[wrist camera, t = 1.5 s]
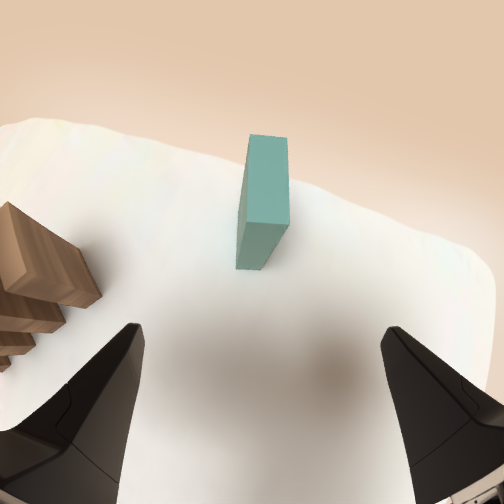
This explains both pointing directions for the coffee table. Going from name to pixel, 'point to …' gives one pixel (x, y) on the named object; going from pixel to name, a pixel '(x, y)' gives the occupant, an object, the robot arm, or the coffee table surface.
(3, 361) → the tile
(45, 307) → the brown wooden block
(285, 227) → the tile
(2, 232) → the tile
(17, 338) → the brown wooden plank
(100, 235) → the coffee table surface
